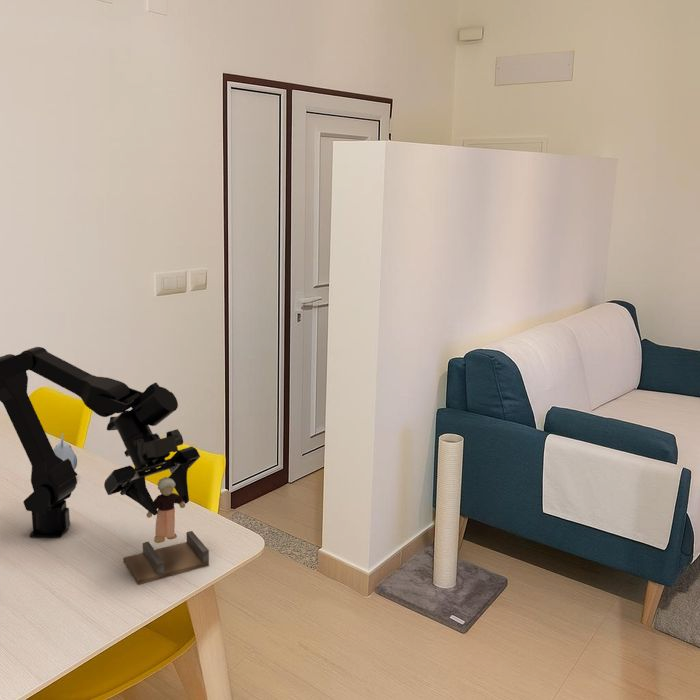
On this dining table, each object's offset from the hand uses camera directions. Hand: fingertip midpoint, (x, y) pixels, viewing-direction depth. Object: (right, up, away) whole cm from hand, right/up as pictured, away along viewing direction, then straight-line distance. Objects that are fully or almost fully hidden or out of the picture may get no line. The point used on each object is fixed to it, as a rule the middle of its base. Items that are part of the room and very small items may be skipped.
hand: (172, 508), depth 140 cm
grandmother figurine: (-1, -6, +3) cm, 7 cm away
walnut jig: (-3, -12, +6) cm, 14 cm away
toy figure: (-36, -2, +40) cm, 54 cm away
